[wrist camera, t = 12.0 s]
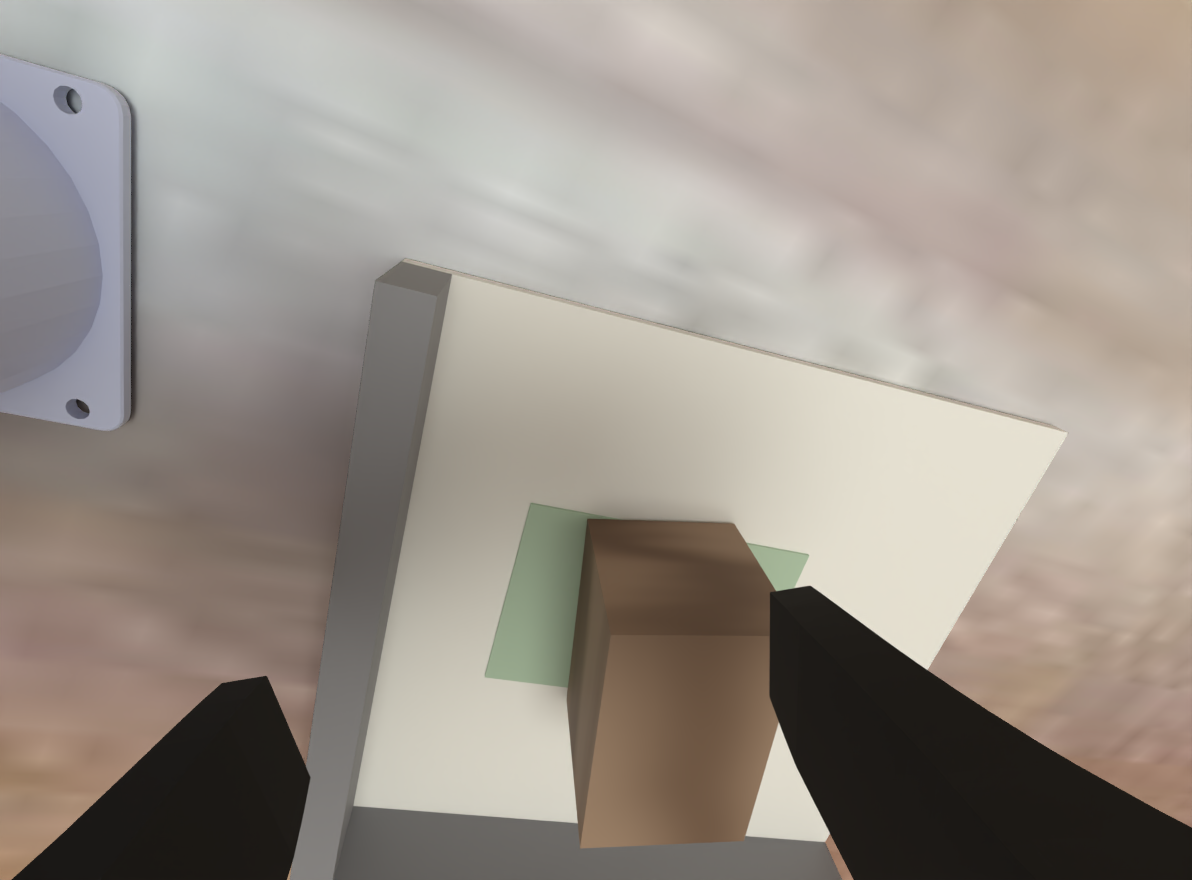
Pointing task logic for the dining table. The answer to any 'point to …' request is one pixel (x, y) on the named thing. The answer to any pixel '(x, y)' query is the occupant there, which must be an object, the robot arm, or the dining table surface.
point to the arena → (555, 553)
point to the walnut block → (669, 684)
